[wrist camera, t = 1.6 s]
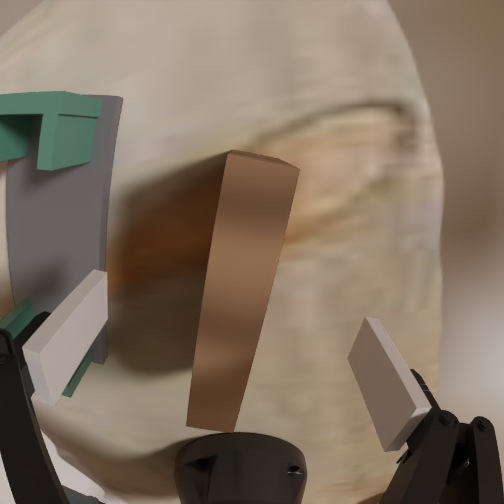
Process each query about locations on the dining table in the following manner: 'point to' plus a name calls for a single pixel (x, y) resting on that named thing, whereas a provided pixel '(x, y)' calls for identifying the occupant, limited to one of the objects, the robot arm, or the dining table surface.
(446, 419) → the robot arm
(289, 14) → the dining table surface
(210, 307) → the slat
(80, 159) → the cradle
